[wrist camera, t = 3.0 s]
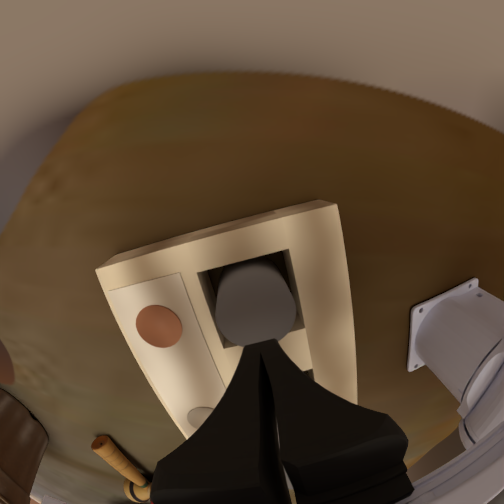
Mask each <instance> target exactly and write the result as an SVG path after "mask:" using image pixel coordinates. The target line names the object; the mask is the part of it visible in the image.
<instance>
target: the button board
mask: <svg viewBox="0 0 504 504" xmlns="http://www.w3.org/2000/svg"><path fill="white" fill-rule="evenodd" d="M281 250H282V252H283V256H284V260H285V265H286V269H287V274H288V278H289V283H290V287H291V292H292V296H293V299H294V301H295V304H296V318H295V321H294V324H293V326H292V328H291V330H290V331H289V332H288V334H287V335H286V336H285V337H284V338H282V339H281V340H280V341H278V343H279V344H280V346H281V348H282V349H283V350H284V352H285V353H286V354H287V355H288V357H289V358H290V359H291V360H292V361H293V362H294V363H295V364H296V365H297V366H298V367H299V368H300V369H301V370H302V371H306V370H308V376H309V377H310V378H311V379H313V380H314V381H315V382H317V383H318V384H320V385H321V386H322V387H324V388H325V389H327V390H329V391H330V392H332V393H334V394H336V395H337V396H339V397H341V398H343V399H345V400H347V401H349V402H351V403H354V404H356V405H357V370H356V350H355V335H354V322H353V311H352V301H351V292H350V283H349V275H348V268H347V261H346V254H345V247H344V241H343V235H342V229H341V223H340V217H339V212H338V207H337V204H335V203H331V202H327V201H323V200H319V199H318V200H314V201H310V202H306V203H301V204H297V205H293V206H289V207H285V208H281V209H277V210H273V211H269V212H265V213H261V214H257V215H253V216H250V217H246V218H242V219H238V220H234V221H231V222H227V223H223V224H220V225H216V226H212V227H209V228H205V229H201V230H198V231H194V232H191V233H187V234H184V235H180V236H177V237H173V238H170V239H166V240H163V241H160V242H156V243H153V244H149V245H146V246H143V247H139V248H136V249H133V250H130V251H126V252H123V253H120V254H117V255H115V256H113V257H112V258H111V259H109V260H108V261H106V262H105V263H104V264H102V265H101V266H100V267H98V268H97V269H96V270H95V271H96V273H97V276H98V279H99V281H100V284H101V286H102V289H103V291H104V293H105V296H106V298H107V300H108V303H109V305H110V307H111V310H112V312H113V314H114V316H115V318H116V321H117V323H118V325H119V327H120V329H121V331H122V333H123V335H124V337H125V339H126V341H127V343H128V345H129V347H130V349H131V351H132V353H133V355H134V357H135V358H136V360H137V362H138V364H139V366H140V368H141V369H142V371H143V373H144V375H145V376H146V378H147V380H148V381H149V383H150V385H151V386H152V388H153V390H154V391H155V393H156V395H157V396H158V398H159V399H160V401H161V403H162V404H163V406H164V407H165V409H166V410H167V412H168V413H169V415H170V416H171V418H172V419H173V421H174V422H175V424H176V425H177V426H178V428H179V429H180V431H181V432H182V433H183V435H184V436H185V438H186V439H188V438H189V437H190V436H191V435H192V434H193V433H194V432H195V431H197V429H198V428H199V427H200V426H201V425H202V424H203V423H204V421H205V420H206V419H207V418H208V416H209V415H210V414H211V413H212V411H213V410H214V409H215V407H216V406H217V404H218V403H219V401H220V399H221V398H222V396H223V395H224V393H225V391H226V389H227V387H228V385H229V383H230V381H231V379H232V377H233V375H234V372H235V370H236V368H237V365H238V363H239V360H240V357H241V354H242V351H243V348H244V347H241V346H238V345H236V344H234V343H232V342H231V341H229V340H228V339H227V338H226V337H225V336H224V335H223V334H222V333H221V331H220V330H219V328H218V325H217V322H216V317H215V312H216V303H217V299H216V296H215V293H214V290H213V287H212V284H211V281H210V278H209V275H208V271H207V270H209V269H213V268H217V267H220V266H224V265H228V264H232V263H236V262H240V261H243V260H247V259H251V258H255V257H259V256H262V255H266V254H270V253H274V252H278V251H281Z"/></svg>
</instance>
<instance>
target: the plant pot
mask: <svg viewBox="0 0 504 504" xmlns="http://www.w3.org/2000/svg"><path fill="white" fill-rule="evenodd" d="M47 445H48V436H47V434H46V432H45V430H44V429H43V427H42V426H41V424H40V423H39V422H38V421H36V420H34V419H33V418H32V417H31V415H30V413H29V411H28V410H27V409H26V408H25V407H24V406H23V405H22V404H21V403H20V402H18V401H17V400H16V399H15V398H14V397H13V396H11V395H10V394H8V393H7V392H5V391H3V390H2V389H0V504H30V497H29V496H30V492H31V489H32V486H33V483H34V480H35V476H36V473H37V471H38V468H39V465H40V462H41V460H42V457H43V454H44V452H45V449H46V447H47Z"/></svg>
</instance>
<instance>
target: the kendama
mask: <svg viewBox="0 0 504 504" xmlns="http://www.w3.org/2000/svg"><path fill="white" fill-rule="evenodd" d="M91 448H92V450H94V451H95V452H96V453H97V454H98V455H99V456H101V457H102V458H103V459H104V460H105V461H106V462H107V463H109V464H110V465H111V466H112V467H113V468H115V469H116V470H117V471H118V472H119V473H121V474H122V475H123V476H125V477H126V479H125V481H124V491H125V494H126V495H127V497H128V498H129V499H130V500H132V501H135V502H139V503H144V502H146V501H148V500H149V499H150V497H149V496H150V491H151V485H152V483H150V482H149V481H148V480H147V478H145V477H144V476H142V475H141V473H140V472H139V471H138V470H137V469H136V468H135V467H134V466H133V464H132V463H131V462H130V461H129V460H128V459H127V458H126V457H125V456H124V455H123V454H122V453H121V451H120V450H119V449H118V448H117V447H116V446H115V444H114V443H113V442H112V441H111V439H110V438H109V437H108V436H107V435H103V436H99V437H98V438H96V439H95V440H94V441H93V443H92V445H91ZM150 501H151V499H150ZM151 504H154V503H153V502H152V501H151Z"/></svg>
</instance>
